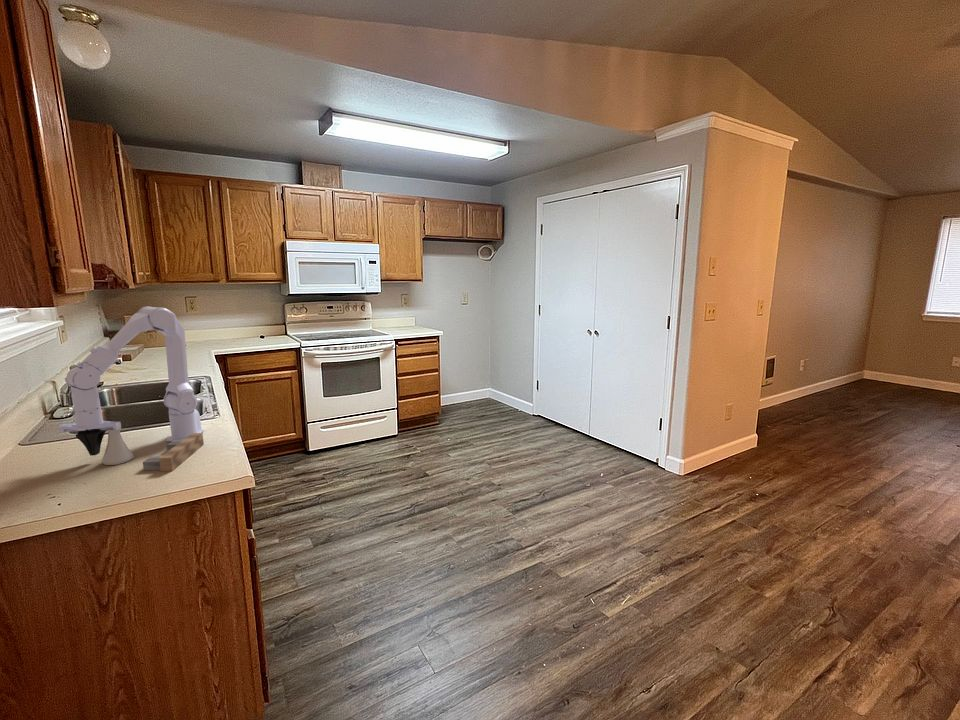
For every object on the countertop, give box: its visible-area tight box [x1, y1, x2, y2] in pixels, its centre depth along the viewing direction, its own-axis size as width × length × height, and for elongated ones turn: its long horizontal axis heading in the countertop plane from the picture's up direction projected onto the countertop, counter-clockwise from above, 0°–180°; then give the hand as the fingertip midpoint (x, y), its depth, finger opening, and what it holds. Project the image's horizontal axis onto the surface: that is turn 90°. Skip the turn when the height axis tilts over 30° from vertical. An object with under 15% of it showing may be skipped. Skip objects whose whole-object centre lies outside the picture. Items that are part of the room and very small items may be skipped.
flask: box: [101, 427, 135, 466], centre depth 129 cm, size 7×7×10 cm
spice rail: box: [142, 432, 205, 473], centre depth 133 cm, size 20×8×4 cm, turn 10°
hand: (95, 454), depth 129 cm, fingers closed
